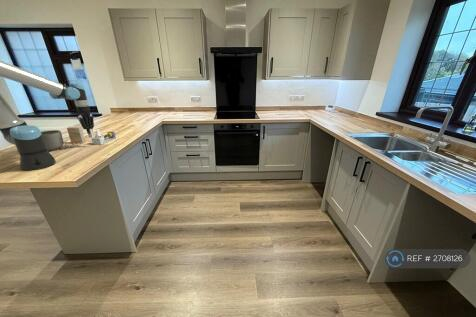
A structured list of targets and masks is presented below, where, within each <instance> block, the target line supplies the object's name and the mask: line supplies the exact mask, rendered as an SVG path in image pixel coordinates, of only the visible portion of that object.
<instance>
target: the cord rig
mask: <svg viewBox="0 0 476 317" xmlns="http://www.w3.org/2000/svg"><path fill="white" fill-rule="evenodd" d="M103 136H104V139H105V141H104V142H103V140H102V138H100V137H98V138H96V137H95V136H94V137H93V138H91V142H92V144H91V145H94V146H97V145H98V146H102V145H104V144H108V143H110V142H112V141H114V139H115V140H117V139H116V138H117V137H116V132H115V131H108V132H107V134H103ZM109 141H110V142H109Z"/></svg>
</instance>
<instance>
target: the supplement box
mask: <svg viewBox="0 0 476 317" xmlns="http://www.w3.org/2000/svg"><path fill="white" fill-rule="evenodd" d="M66 130H67V134H68V136H69V139H70V142H71V144H83V143H85V142H86V140H85V136H84V133H83V127H82V125H81V126H68V127H67V128H66Z"/></svg>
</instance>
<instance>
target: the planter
mask: <svg viewBox="0 0 476 317" xmlns="http://www.w3.org/2000/svg"><path fill="white" fill-rule="evenodd" d="M41 134H42V137H43V140H44V142H45V145H46V148H47V150H48V152H55V151H59V150H60V149H61V148H62V147H63V145H64V138H63V135H62V131H61V130H57V129H54V130H53V129H52V130H43V131H41Z"/></svg>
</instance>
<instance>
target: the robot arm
mask: <svg viewBox="0 0 476 317" xmlns="http://www.w3.org/2000/svg"><path fill="white" fill-rule="evenodd" d="M0 77H1V78H5V79H7V80H10V81H13V82H16V83H20V84H21V85H22V84H23V85H25V86H28V87H31V88H34V89H37V90H40V91H43V92H47V93H48V94H49V96H50V97H51V99H53V100H60V99H63V100H70V101H74V104H75V107H76V111H77V112H78V116H76V119H77V120H78V121H79V123H80V125H81V128H82V130H83V129H84V130H86V133H87V135H88V138H89V139H90V138H93V137H95V135H94V131H93V129H94V127H95V122H94V114H92V113H91V108H90V106H89V102H88V98H87V94H86V90H85V87H84V84H83V83H77V82H76V83H69V86H67V85H66V84H63V83H60V82H58V81H55V80H52V79H50V78H47V77H45V76H41V75H39V74H37V73H34V72H32V71H29V70H26V69H23V68H21V67H19V66H16V65H13V64H11V63H8V62H6V61H3V60H0ZM41 132H42V131H41V129H40V128H39V127H38V126H35V125H30V124H27V122H26V121H25V120H24V119H20V118H19V117H18V115H17V114H16V112H15V111H14V110H13V108H12V107H11V106H10V104H9V103H8V101H7V100H6V99H5V97H4V96H3V95H2V94H1V92H0V133H1V134H2V137H3V138H4V140H5V141H6V142H8V143H9V144H11V145H14V146H15V147H16V149H17V152H18V154H19V156H20V157H19V167H20V169H21V171H25V170H26V171H37V170H41V169H46V168H48V167H51V166H53V165H55V164H56V163H57V162H56V159H55V157H54V156H53V155H52V154H51V152H50V151H48V150H47V148H46V145H45V142H44V140H43V137H42V134H41Z"/></svg>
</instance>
